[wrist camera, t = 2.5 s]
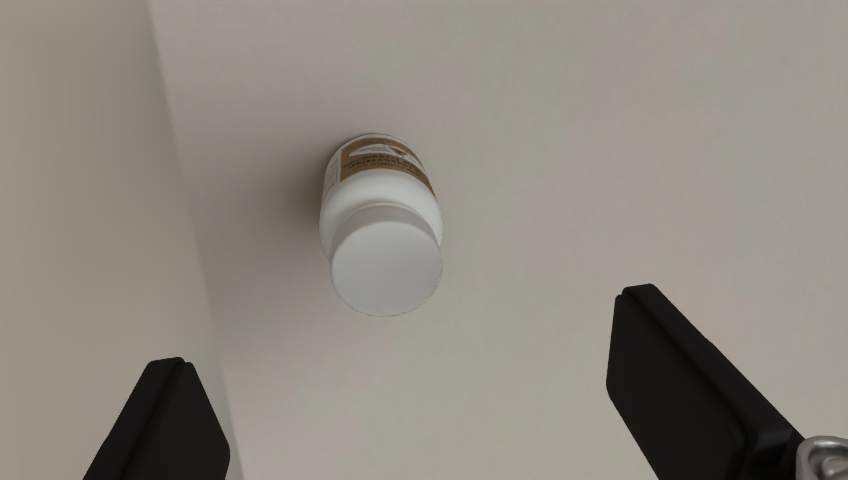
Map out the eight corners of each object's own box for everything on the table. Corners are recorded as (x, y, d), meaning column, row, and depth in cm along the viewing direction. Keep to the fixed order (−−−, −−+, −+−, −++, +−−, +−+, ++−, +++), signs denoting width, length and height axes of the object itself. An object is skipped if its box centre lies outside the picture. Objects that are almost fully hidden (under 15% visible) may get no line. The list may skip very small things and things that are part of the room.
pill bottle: (438, 148, 21) (480, 227, 14) (406, 234, 23) (430, 341, 16) (339, 118, 20) (334, 188, 13) (314, 211, 22) (298, 315, 15)
